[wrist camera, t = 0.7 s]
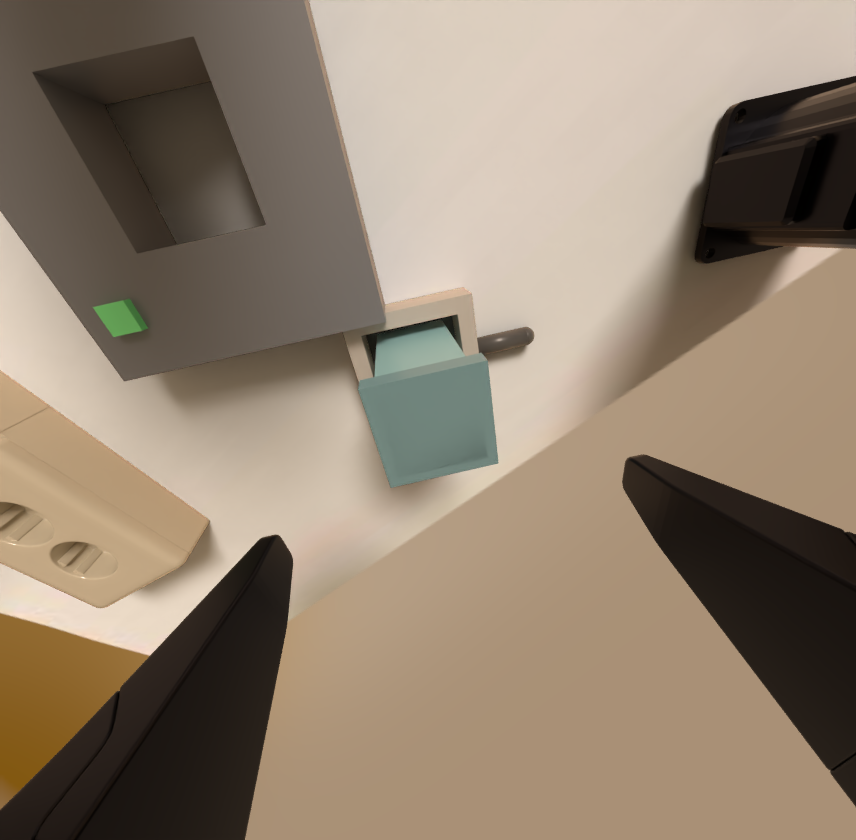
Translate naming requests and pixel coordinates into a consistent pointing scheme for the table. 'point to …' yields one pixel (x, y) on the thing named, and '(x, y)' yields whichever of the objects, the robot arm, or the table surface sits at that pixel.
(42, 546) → the electrical outlet
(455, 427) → the plug
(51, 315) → the table surface
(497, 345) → the beige frame with handle
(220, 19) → the port panel
